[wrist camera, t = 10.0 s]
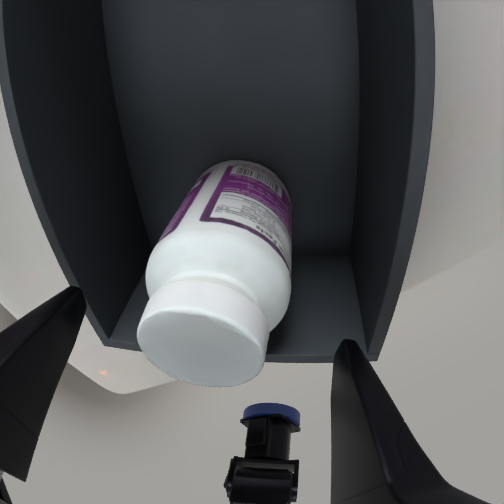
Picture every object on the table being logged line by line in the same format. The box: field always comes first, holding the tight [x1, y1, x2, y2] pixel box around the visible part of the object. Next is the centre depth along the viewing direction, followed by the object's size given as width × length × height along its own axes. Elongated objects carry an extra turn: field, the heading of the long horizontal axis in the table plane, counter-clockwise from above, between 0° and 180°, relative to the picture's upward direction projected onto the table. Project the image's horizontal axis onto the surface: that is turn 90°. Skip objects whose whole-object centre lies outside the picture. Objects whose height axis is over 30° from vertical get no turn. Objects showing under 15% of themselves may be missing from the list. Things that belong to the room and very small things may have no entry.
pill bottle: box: [137, 160, 292, 387], centre depth 13 cm, size 5×5×10 cm
